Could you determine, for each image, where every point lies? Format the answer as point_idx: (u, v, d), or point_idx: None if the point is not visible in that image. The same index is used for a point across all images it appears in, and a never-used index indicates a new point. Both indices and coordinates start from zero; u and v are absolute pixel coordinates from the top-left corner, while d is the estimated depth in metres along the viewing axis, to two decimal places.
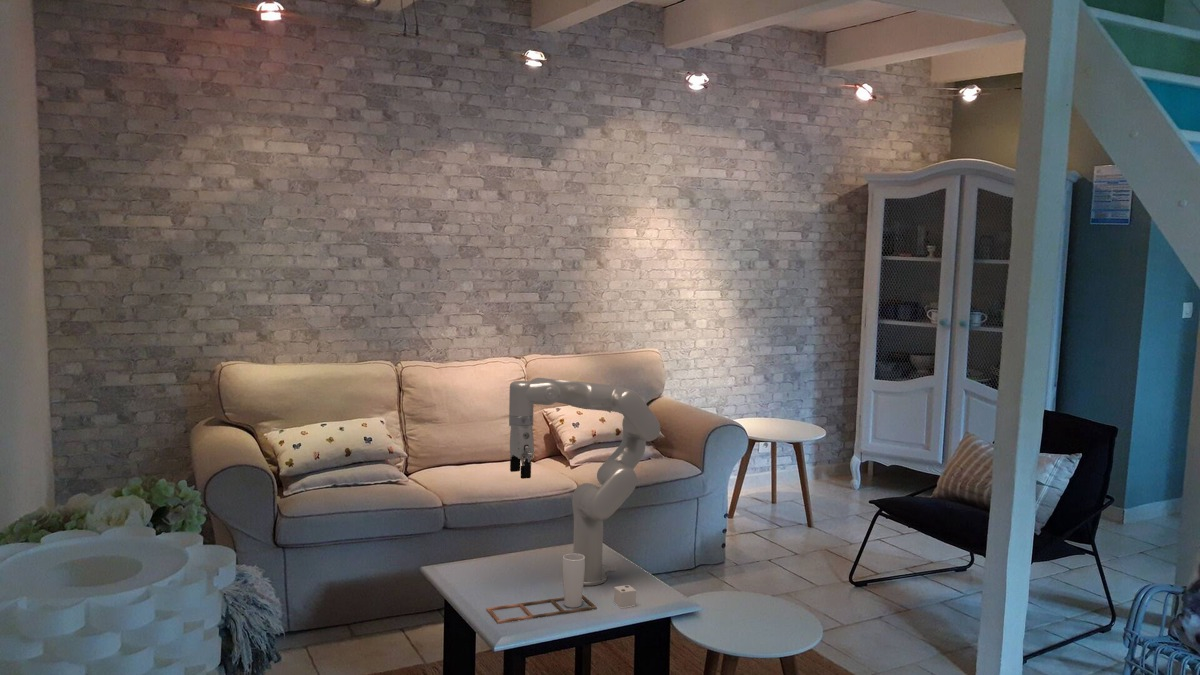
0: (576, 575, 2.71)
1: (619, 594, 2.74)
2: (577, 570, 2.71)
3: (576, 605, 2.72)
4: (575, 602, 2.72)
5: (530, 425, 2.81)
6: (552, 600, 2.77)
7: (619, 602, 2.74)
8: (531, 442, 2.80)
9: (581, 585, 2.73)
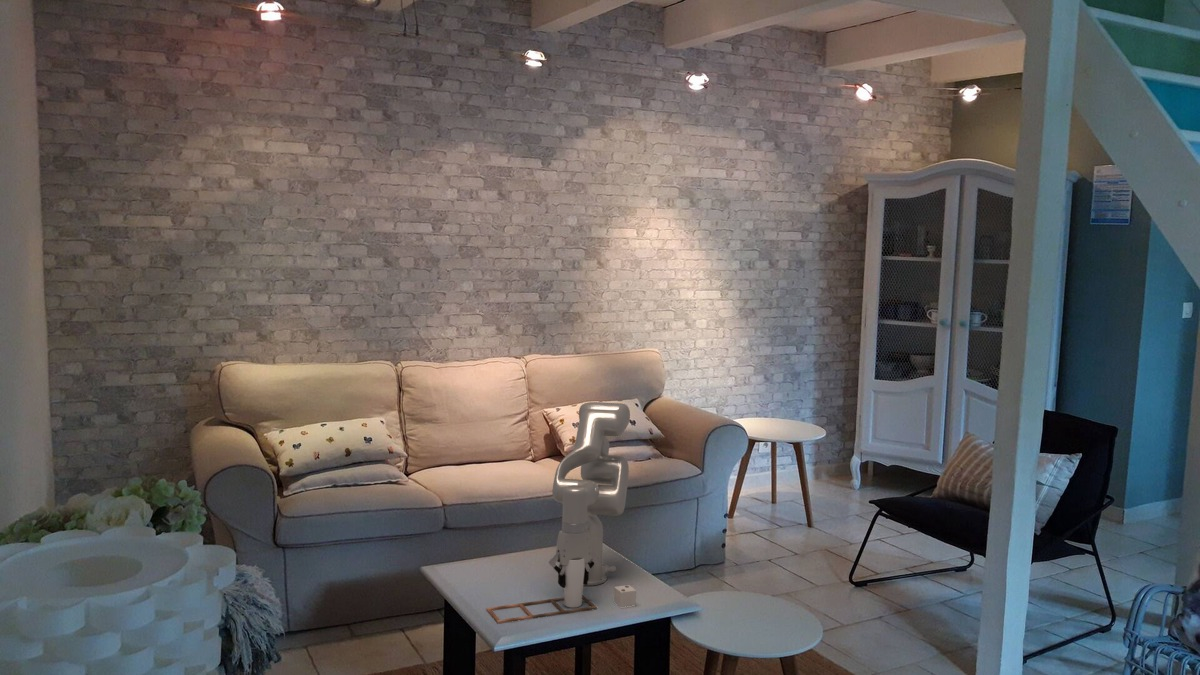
0: (576, 575, 2.71)
1: (619, 594, 2.74)
2: (577, 570, 2.71)
3: (576, 605, 2.72)
4: (575, 602, 2.72)
5: None
6: (552, 600, 2.77)
7: (619, 602, 2.74)
8: None
9: (581, 585, 2.73)
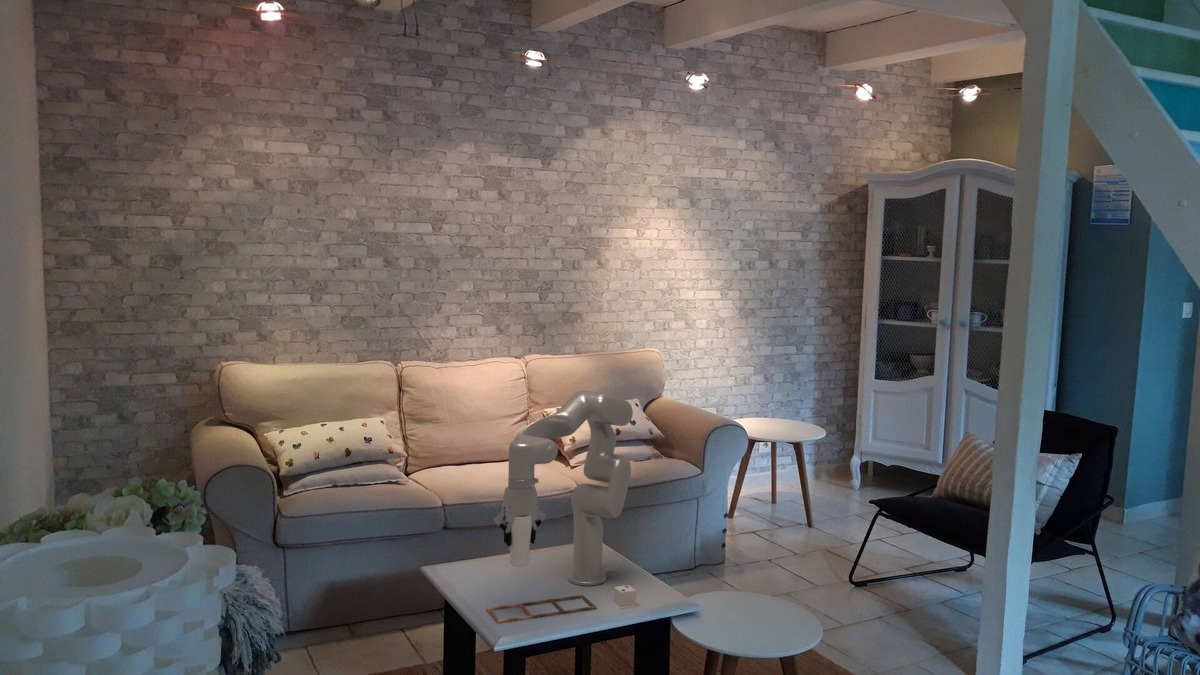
0: (522, 533, 2.62)
1: (619, 594, 2.74)
2: (523, 527, 2.62)
3: (522, 564, 2.64)
4: (521, 561, 2.64)
5: None
6: (552, 600, 2.77)
7: (619, 602, 2.74)
8: None
9: (528, 543, 2.64)
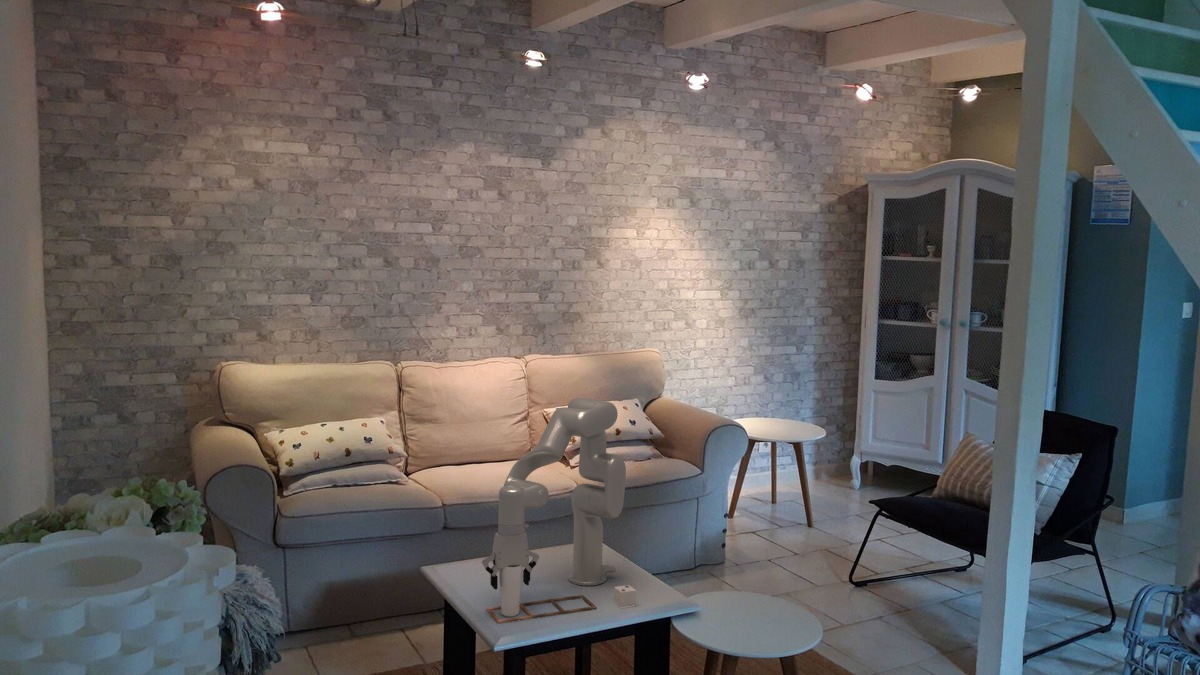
0: (512, 583, 2.63)
1: (619, 594, 2.74)
2: (514, 578, 2.63)
3: (513, 614, 2.64)
4: (512, 610, 2.64)
5: None
6: (552, 600, 2.77)
7: (619, 602, 2.74)
8: None
9: (518, 593, 2.65)
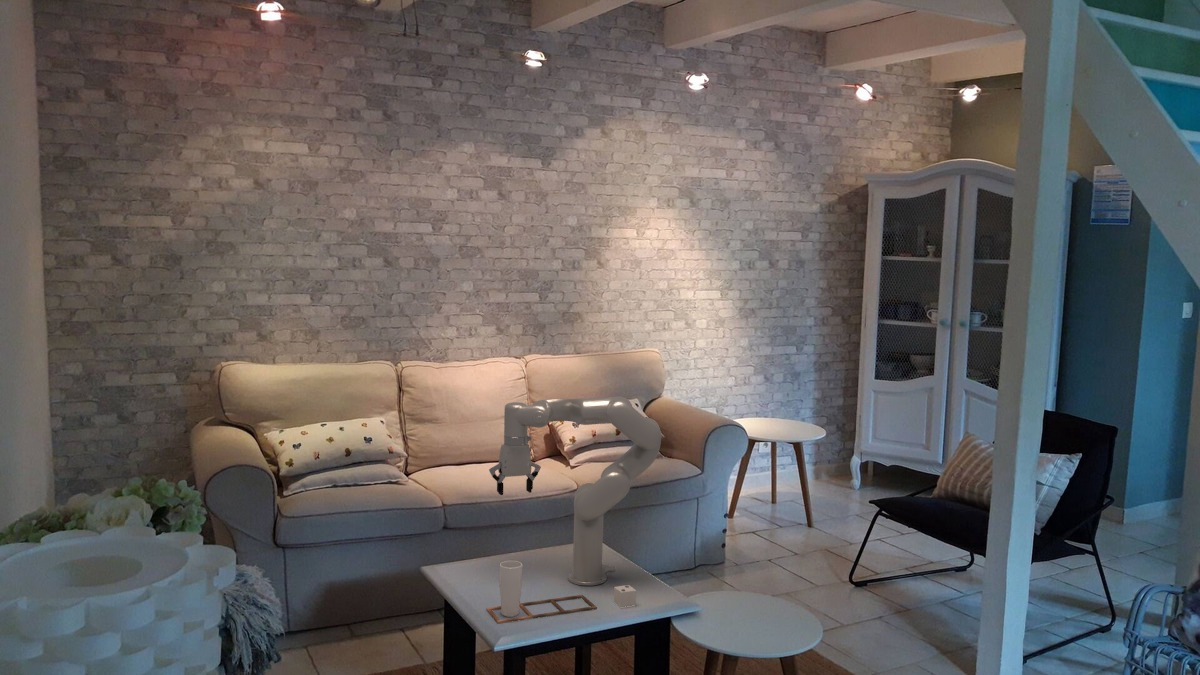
0: (512, 583, 2.63)
1: (619, 594, 2.74)
2: (514, 578, 2.63)
3: (513, 614, 2.64)
4: (512, 611, 2.64)
5: None
6: (552, 600, 2.77)
7: (619, 602, 2.74)
8: None
9: (518, 593, 2.64)
